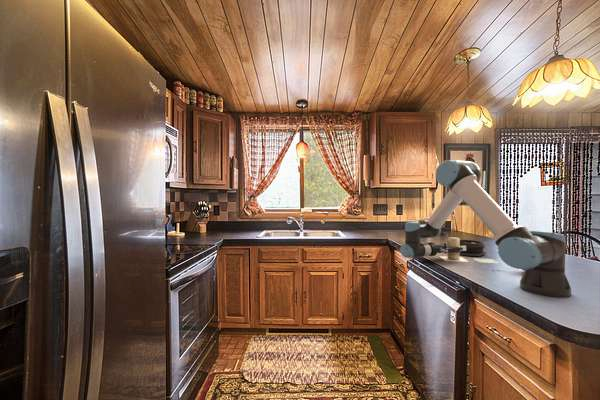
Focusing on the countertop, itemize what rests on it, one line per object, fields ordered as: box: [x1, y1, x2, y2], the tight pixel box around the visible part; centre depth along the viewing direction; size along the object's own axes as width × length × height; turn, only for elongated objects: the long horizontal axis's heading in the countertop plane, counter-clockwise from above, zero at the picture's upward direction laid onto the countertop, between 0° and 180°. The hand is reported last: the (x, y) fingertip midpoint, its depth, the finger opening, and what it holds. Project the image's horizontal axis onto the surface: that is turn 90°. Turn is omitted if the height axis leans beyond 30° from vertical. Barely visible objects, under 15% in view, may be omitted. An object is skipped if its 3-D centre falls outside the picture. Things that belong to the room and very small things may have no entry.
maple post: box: [447, 236, 461, 260], centre depth 160 cm, size 6×6×12 cm
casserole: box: [460, 239, 487, 257], centre depth 176 cm, size 25×19×8 cm
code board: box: [439, 255, 469, 263], centre depth 160 cm, size 12×12×1 cm
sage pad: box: [472, 257, 501, 265], centre depth 155 cm, size 10×10×1 cm
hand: (460, 247), depth 161 cm, fingers closed on maple post, 6 cm apart
